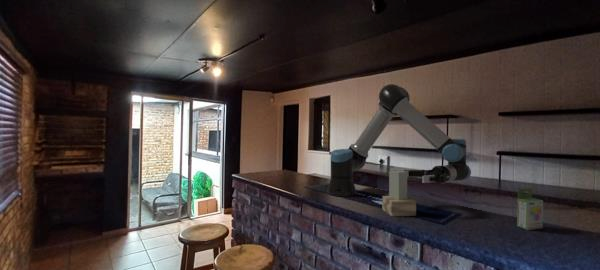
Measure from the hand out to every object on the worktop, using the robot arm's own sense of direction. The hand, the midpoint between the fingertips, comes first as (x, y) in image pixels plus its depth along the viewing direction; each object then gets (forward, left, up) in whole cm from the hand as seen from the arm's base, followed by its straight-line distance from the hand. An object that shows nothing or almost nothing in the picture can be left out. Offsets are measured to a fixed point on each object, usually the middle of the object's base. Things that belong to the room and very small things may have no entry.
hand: (409, 177), depth 121 cm
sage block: (-1, -6, -8) cm, 10 cm away
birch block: (0, -6, -14) cm, 16 cm away
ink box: (+34, +20, -14) cm, 43 cm away
